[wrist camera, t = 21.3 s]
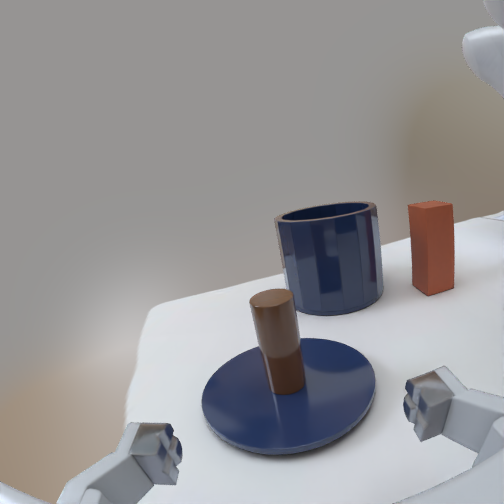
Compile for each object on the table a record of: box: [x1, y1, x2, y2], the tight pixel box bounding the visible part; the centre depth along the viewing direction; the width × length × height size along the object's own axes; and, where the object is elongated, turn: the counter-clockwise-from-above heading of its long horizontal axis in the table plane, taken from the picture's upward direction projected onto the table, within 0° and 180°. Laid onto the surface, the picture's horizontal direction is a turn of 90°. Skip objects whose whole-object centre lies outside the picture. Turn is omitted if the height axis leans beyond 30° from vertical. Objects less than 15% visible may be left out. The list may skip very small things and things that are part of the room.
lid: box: [202, 289, 375, 455], centre depth 20 cm, size 13×13×8 cm
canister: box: [274, 202, 383, 316], centre depth 36 cm, size 12×12×10 cm
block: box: [408, 201, 454, 296], centre depth 31 cm, size 4×4×10 cm
